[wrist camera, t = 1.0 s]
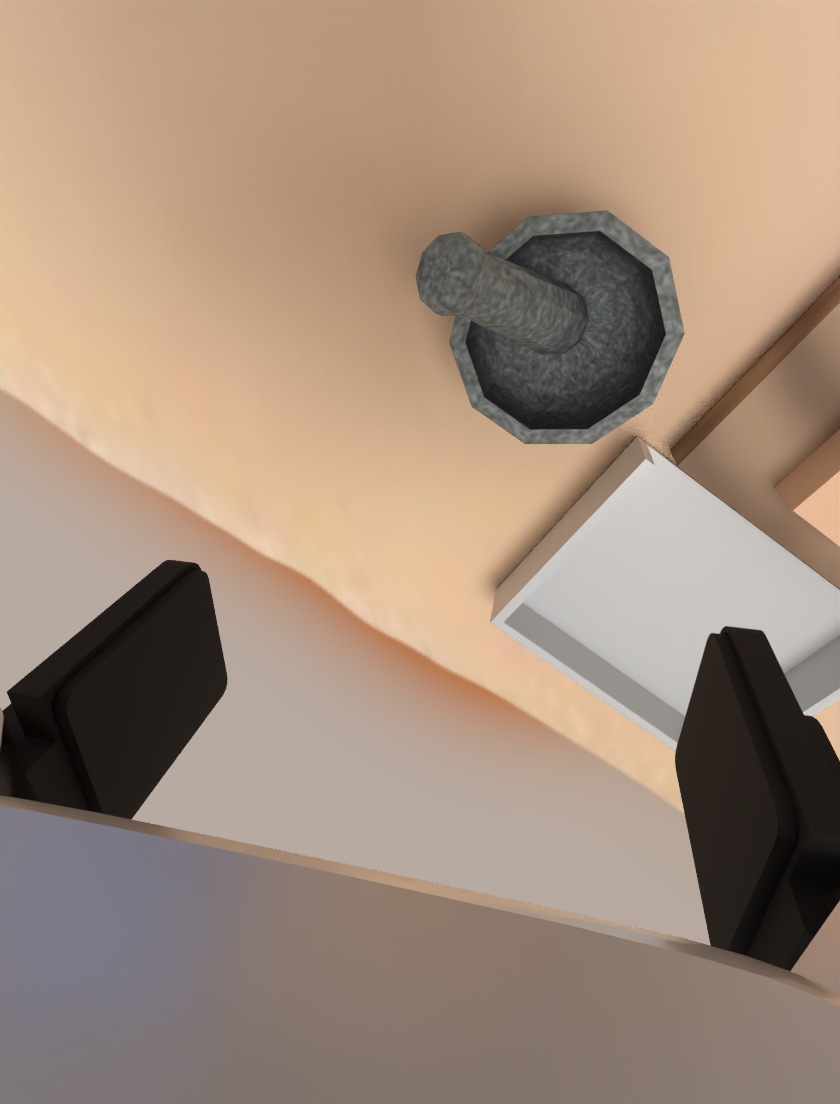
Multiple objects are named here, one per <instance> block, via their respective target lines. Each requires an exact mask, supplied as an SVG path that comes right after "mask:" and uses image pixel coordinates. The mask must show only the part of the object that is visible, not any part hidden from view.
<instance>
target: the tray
mask: <svg viewBox="0 0 840 1104" xmlns="http://www.w3.org/2000/svg"><path fill="white" fill-rule="evenodd" d="M490 623H491V624H492V625H494V626H495V627H496V628H498V629H499V630H501V631H502V632H504V633H505V634H507V635H508V636H509V637H511V638H512V639H514V640H515V641H517V642H518V643H520V644H521V645H522V646H524V647H525V648H527V649H528V650H530V651H531V652H533V653H534V654H535V655H537V656H538V657H540V658H541V659H543V660H544V661H546V662H547V663H548V664H550V665H551V666H553V667H554V668H556V669H557V670H559V671H560V672H561V673H563V674H564V675H566V676H567V677H569V678H570V679H572V680H573V681H574V682H576V683H577V684H579V685H580V686H582V687H583V688H585V689H586V690H587V691H589V692H590V693H592V694H593V695H595V696H596V697H598V698H599V699H600V700H602V701H603V702H605V703H606V704H608V705H609V706H611V707H612V708H614V709H615V710H616V711H618V712H619V713H621V714H622V715H624V716H625V717H627V718H628V719H629V720H631V721H632V722H634V723H635V724H637V725H638V726H640V727H641V728H642V729H644V730H645V731H647V732H648V733H650V734H651V735H653V736H654V737H655V738H657V739H658V740H660V741H661V742H663V743H664V744H666V745H667V746H668V747H670V748H671V749H673V750H674V751H676V748H677V743H678V740H679V736H680V733H681V729H682V726H683V722H684V719H685V715H686V712H687V708H688V705H689V701H690V698H691V694H692V691H693V687H694V684H695V680H696V677H697V673H698V670H699V666H700V663H701V659H702V656H703V652H704V649H705V645H706V642H707V639H708V636H709V635H710V634H711V633H717V634H720V632H721V630H722V629H723V627H725V626H730V627H739V628H747V629H755V630H761V631H763V632H764V633H765V635H766V637H767V639H768V641H769V643H770V645H771V647H772V649H773V652H774V654H775V656H776V658H777V660H778V662H779V664H780V666H781V668H782V670H783V672H784V674H785V676H786V679H787V681H788V683H789V685H790V687H791V689H792V691H793V693H794V695H795V697H796V699H797V701H798V703H799V706H800V708H801V710H802V712H803V714H804V715H808V716H812V717H813V716H814V715H816V714H817V713H819V712H821V711H822V710H824V709H825V708H827V707H828V706H830V705H831V704H833V703H835V702H836V701H838V700H839V699H840V588H839V587H837V586H836V585H835V584H833V583H832V582H831V581H829V580H828V579H827V578H825V577H824V576H823V575H821V574H820V573H819V572H817V571H816V570H815V569H813V568H812V567H811V566H809V565H808V564H807V563H805V562H804V561H803V560H801V559H800V558H799V557H797V556H796V555H795V554H794V553H792V552H791V551H790V550H788V549H787V548H786V547H784V546H783V545H782V544H780V543H779V542H778V541H776V540H775V539H774V538H772V537H771V536H770V535H768V534H767V533H766V532H764V531H763V530H762V529H760V528H759V527H758V526H756V525H755V524H754V523H752V522H751V521H750V520H749V519H747V518H746V517H745V516H743V515H742V514H741V513H739V512H738V511H737V510H735V509H734V508H733V507H731V506H730V505H729V504H727V503H726V502H725V501H723V500H722V499H721V498H719V497H718V496H717V495H715V494H714V493H713V492H711V491H710V490H709V489H707V488H706V487H705V486H703V485H702V484H701V483H700V482H698V481H697V480H696V479H694V478H693V477H692V476H690V475H689V474H688V473H686V472H685V471H684V470H682V469H681V468H680V467H678V466H677V465H676V464H674V463H673V462H672V461H670V460H669V459H668V458H666V457H665V456H664V455H662V454H661V453H660V452H658V451H657V450H656V449H655V448H653V447H652V446H651V445H649V444H648V443H647V442H645V441H644V440H643V439H641V438H640V437H639V436H637V437H636V438H635V439H634V440H633V441H632V442H631V444H630V445H629V446H628V447H627V448H626V449H625V450H624V451H623V452H622V453H621V454H620V456H619V457H618V458H617V459H616V460H615V461H614V462H613V463H612V464H611V465H610V466H609V467H608V469H607V470H606V471H605V472H604V473H603V474H602V475H601V476H600V477H599V478H598V479H597V481H596V482H595V483H594V484H593V485H592V486H591V487H590V488H589V489H588V490H587V491H586V493H585V494H584V495H583V496H582V497H581V498H580V499H579V500H578V501H577V502H576V503H575V504H574V506H573V507H572V508H571V509H570V510H569V511H568V512H567V513H566V514H565V515H564V516H563V518H562V519H561V520H560V521H559V522H558V523H557V524H556V525H555V526H554V527H553V528H552V530H551V531H550V532H549V533H548V534H547V535H546V536H545V537H544V538H543V539H542V540H541V541H540V543H539V544H538V545H537V546H536V547H535V548H534V549H533V550H532V551H531V552H530V553H529V555H528V556H527V557H526V558H525V559H524V560H523V561H522V562H521V563H520V564H519V565H518V567H517V568H516V569H515V570H514V571H513V572H512V573H511V574H510V575H509V576H508V577H507V578H506V580H505V581H504V582H503V583H502V584H501V585H500V586H499V587H498V588H497V589H496V594H495V599H494V604H493V609H492V614H491V619H490Z"/></svg>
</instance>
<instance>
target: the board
mask: <svg viewBox="0 0 840 1104" xmlns="http://www.w3.org/2000/svg"><path fill="white" fill-rule="evenodd" d="M839 429H840V277H839V278H838V279H837V280H836V281H835V282H834V283H833V284H832V285H831V286H830V287H829V288H828V289H827V290H826V291H825V292H824V293H823V294H822V295H821V296H820V297H819V298H818V300H817V301H816V302H815V303H814V304H813V305H812V306H811V307H810V308H809V309H808V310H807V311H806V312H805V313H804V314H803V315H802V316H801V317H800V318H799V319H798V320H797V321H796V322H795V323H794V324H793V325H792V326H791V327H790V328H789V329H788V330H787V332H786V333H785V334H784V335H783V336H782V337H781V338H780V339H779V340H778V341H777V342H776V343H775V344H774V345H773V346H772V347H771V348H770V349H769V350H768V351H767V352H766V353H765V354H764V355H763V356H762V357H761V358H760V359H759V360H758V361H757V362H756V364H755V365H754V366H753V367H752V368H751V369H750V370H749V371H748V372H747V373H746V374H745V375H744V376H743V377H742V378H741V379H740V380H739V381H738V382H737V383H736V384H735V385H734V386H733V387H732V388H731V389H730V390H729V391H728V392H727V393H726V394H725V395H724V397H723V398H722V399H721V400H720V401H719V402H718V403H717V404H716V405H715V406H714V407H713V408H712V409H711V410H710V411H709V412H708V413H707V414H706V415H705V416H704V417H703V418H702V419H701V420H700V421H699V422H698V423H697V424H696V425H695V426H694V427H693V429H692V430H691V431H690V432H689V433H688V434H687V435H686V436H685V437H684V438H683V439H682V440H681V441H680V442H679V443H678V444H677V445H676V446H675V447H674V448H673V449H672V450H671V453H672V455H673V457H674V459H675V462H676V464H677V466H678V467H680V468H681V469H682V470H684V471H685V472H686V473H688V474H689V475H690V476H692V477H693V478H694V479H696V480H697V481H698V482H700V483H701V484H702V485H703V486H705V487H706V488H707V489H709V490H710V491H711V492H713V493H714V494H715V495H717V496H718V497H719V498H721V499H722V500H723V501H725V502H726V503H727V504H729V505H730V506H731V507H733V508H734V509H735V510H737V511H738V512H739V513H741V514H742V515H743V516H745V517H746V518H747V519H749V520H750V521H751V522H752V523H754V524H755V525H756V526H758V527H759V528H760V529H762V530H763V531H764V532H766V533H767V534H768V535H770V536H771V537H772V538H774V539H775V540H776V541H778V542H779V543H780V544H782V545H783V546H784V547H786V548H787V549H788V550H790V551H791V552H792V553H794V554H795V555H796V556H797V557H799V558H800V559H801V560H803V561H804V562H805V563H807V564H808V565H809V566H811V567H812V568H813V569H815V570H816V571H817V572H819V573H820V574H821V575H823V576H824V577H825V578H827V579H828V580H829V581H831V582H832V583H833V584H835V585H836V586H837V587H839V588H840V546H838V545H837V544H836V543H834V542H833V541H832V540H831V539H829V538H828V537H827V536H825V535H824V534H823V533H821V532H820V531H819V530H817V529H816V528H815V527H814V526H812V525H811V524H810V523H808V522H807V521H806V520H804V519H803V518H802V517H800V516H799V515H798V514H797V513H795V512H794V511H793V510H792V509H791V508H790V507H789V505H788V504H787V503H786V502H785V500H784V499H783V498H782V497H781V496H780V494H779V493H778V492H777V491H776V490H775V488H774V487H775V486H776V485H777V484H779V483H780V482H781V481H782V480H783V479H784V478H785V477H786V476H787V475H789V474H790V473H791V472H792V471H793V470H794V469H795V468H796V467H798V466H799V465H800V464H801V463H802V462H803V461H804V460H805V459H807V458H808V457H809V456H810V455H811V454H812V453H813V452H814V451H816V450H817V449H818V448H819V447H820V446H821V445H822V444H823V443H825V442H826V441H827V440H828V439H829V438H830V437H831V436H832V435H834V434H835V433H836V432H837V431H838V430H839Z"/></svg>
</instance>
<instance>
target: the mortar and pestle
mask: <svg viewBox="0 0 840 1104" xmlns="http://www.w3.org/2000/svg"><path fill="white" fill-rule="evenodd" d="M416 280H417V285H418V290H419V295H420V299H421V300H422V301H423V302H424V303H425V304H426V305H427V306H428V307H429V308H431V309H432V310H433V311H434V312H435V313H437V314H439V315H442V316H449V315H456V319H455V323H454V327H453V330H452V334H451V338H450V342H449V343H450V346H451V349H452V351H453V354H454V357H455V360H456V363H457V366H458V368H459V371H460V374H461V377H462V380H463V383H464V385H465V388H466V391H467V394H468V397H469V400H470V403H471V405H472V407H473V408H475V409H476V410H477V411H479V412H480V413H482V414H483V415H485V416H486V417H487V418H489V419H490V420H492V421H493V422H495V423H496V424H497V425H499V426H500V427H502V428H503V429H505V430H506V431H507V432H509V433H510V434H512V435H513V436H515V437H516V438H517V439H519V440H520V441H522V442H523V443H524V444H592V443H594V442H595V441H597V440H598V439H600V438H601V437H603V436H605V435H606V434H608V433H609V432H611V431H612V430H614V429H615V428H617V427H618V426H620V425H621V424H623V423H624V422H626V421H628V420H629V419H631V418H632V417H634V416H635V415H637V414H638V413H640V412H641V411H643V410H644V409H646V408H647V407H649V406H651V405H652V404H653V402H654V400H655V398H656V396H657V394H658V391H659V389H660V387H661V385H662V382H663V380H664V378H665V376H666V374H667V371H668V369H669V367H670V365H671V362H672V360H673V358H674V356H675V354H676V351H677V349H678V347H679V345H680V343H681V340H682V338H683V336H684V334H685V333H684V328H683V324H682V319H681V314H680V309H679V304H678V299H677V295H676V290H675V285H674V280H673V275H672V270H671V266H670V261H669V257H668V256H666V255H665V254H664V253H663V252H661V251H660V250H659V249H657V248H656V247H655V246H653V245H652V244H651V243H649V242H648V241H647V240H645V239H644V238H643V237H641V236H640V235H639V234H637V233H636V232H635V231H633V230H632V229H631V228H629V227H628V226H627V225H625V224H624V223H623V222H622V221H620V220H619V219H618V218H616V217H615V216H614V215H612V214H611V213H610V212H608V211H596V212H584V213H571V214H559V215H547V216H535V217H527V218H526V219H525V220H524V221H523V222H522V223H521V224H520V225H518V226H517V227H516V228H515V229H514V230H513V231H512V232H511V233H509V234H508V235H507V236H506V237H505V238H504V239H503V240H502V241H500V242H499V243H498V244H497V245H496V246H495V247H494V248H493V249H491V250H490V251H489V252H488V253H486V252H484V250H483V248H482V247H481V246H480V245H478V244H477V243H476V242H475V241H473V240H472V239H471V238H470V237H469V236H467V235H465V234H463V233H461V232H457V233H451V234H445V235H440V236H438V237H437V238H436V239H435V240H434V241H433V242H432V243H431V244H430V245H429V246H428V247H427V249H426V250H425V251H424V252H423V253H422V256H421V260H420V263H419V267H418V270H417V274H416Z"/></svg>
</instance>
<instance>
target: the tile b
mask: <svg viewBox="0 0 840 1104" xmlns="http://www.w3.org/2000/svg"><path fill="white" fill-rule="evenodd" d="M774 488H775V490H776V491H777V492H778V493H779V494H780V496H781V497H782V498H783V499H784V500H785V502H786V503H787V504H788V505H789V507H790V508H791V509H792V510H793V511H794V512H795V513H797V514H798V515H799V516H800V517H802V518H803V519H804V520H806V521H807V522H808V523H810V524H811V525H812V526H814V527H815V528H816V529H817V530H819V531H820V532H821V533H823V534H824V535H825V536H827V537H828V538H829V539H831V540H832V541H833V542H834V543H836V544H837V545H838V546H840V429H839V430H838V431H837V432H836V433H835V434H834V435H832V436H831V437H830V438H829V439H828V440H827V441H826V442H825V443H823V444H822V445H821V446H820V447H819V448H818V449H817V450H816V451H814V452H813V453H812V454H811V455H810V456H809V457H808V458H807V459H805V460H804V461H803V462H802V463H801V464H800V465H799V466H798V467H796V468H795V469H794V470H793V471H792V472H791V473H790V474H789V475H787V476H786V477H785V478H784V479H783V480H782V481H781V482H780V483H779V484H777V485H776V486H775V487H774Z"/></svg>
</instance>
